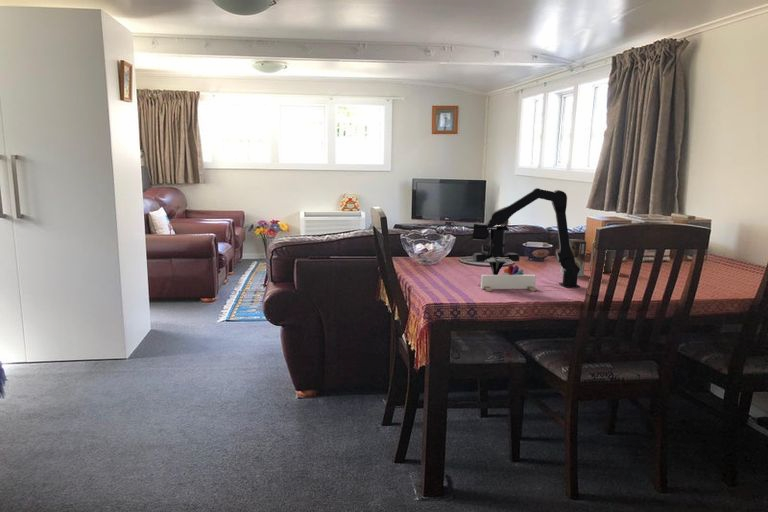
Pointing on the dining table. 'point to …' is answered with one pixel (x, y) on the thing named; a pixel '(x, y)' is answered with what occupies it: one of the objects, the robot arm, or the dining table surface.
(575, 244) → the coffee box
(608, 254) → the pillar candle
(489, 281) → the white rectangular box
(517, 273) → the pom poms
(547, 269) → the dining table surface
